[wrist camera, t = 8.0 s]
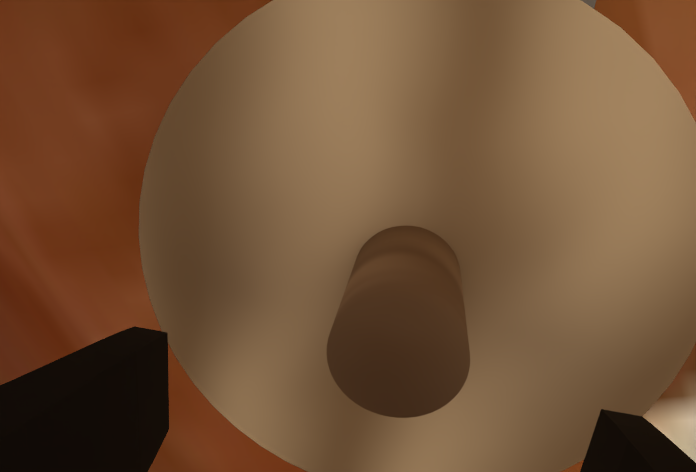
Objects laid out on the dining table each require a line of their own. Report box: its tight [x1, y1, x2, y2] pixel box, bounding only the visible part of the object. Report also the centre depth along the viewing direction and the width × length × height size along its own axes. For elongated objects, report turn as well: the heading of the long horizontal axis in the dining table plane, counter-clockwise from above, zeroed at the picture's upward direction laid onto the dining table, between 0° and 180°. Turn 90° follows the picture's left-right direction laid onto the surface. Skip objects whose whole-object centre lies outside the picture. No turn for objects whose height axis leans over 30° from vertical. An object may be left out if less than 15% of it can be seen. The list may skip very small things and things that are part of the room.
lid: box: [139, 0, 696, 472], centre depth 13 cm, size 15×15×5 cm
